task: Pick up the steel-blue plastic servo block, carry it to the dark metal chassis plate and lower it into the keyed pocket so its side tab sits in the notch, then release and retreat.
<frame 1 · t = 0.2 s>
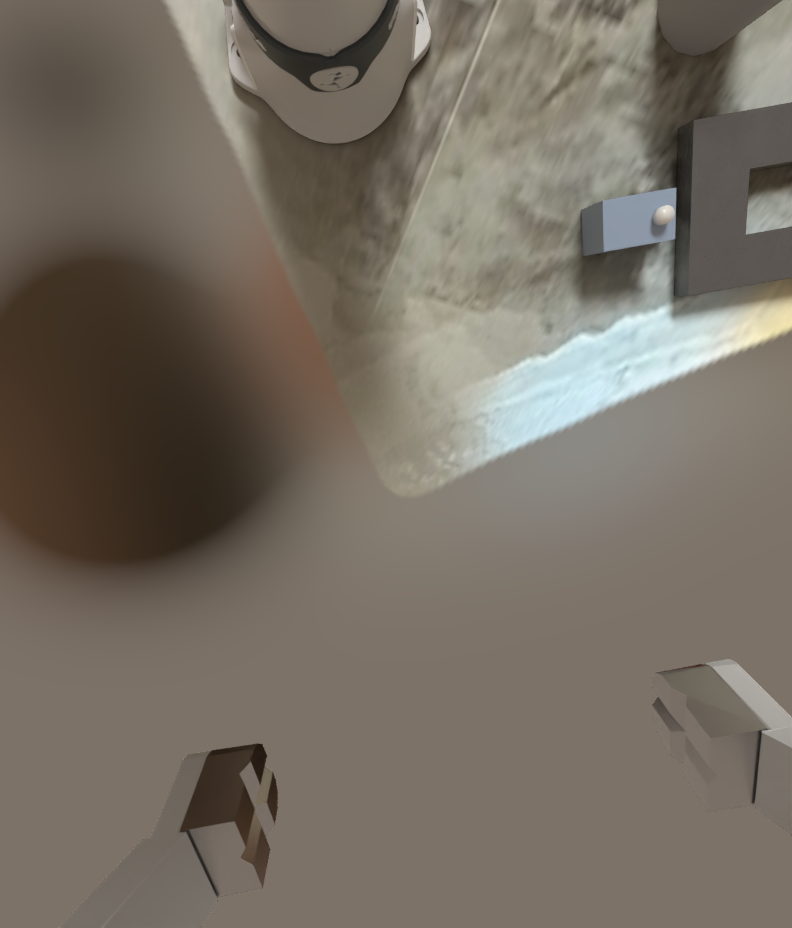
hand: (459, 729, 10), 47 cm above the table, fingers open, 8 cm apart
cup: (700, 2, 45), on the table
servo block: (614, 227, 51), on the table
chassis: (770, 199, 51), on the table
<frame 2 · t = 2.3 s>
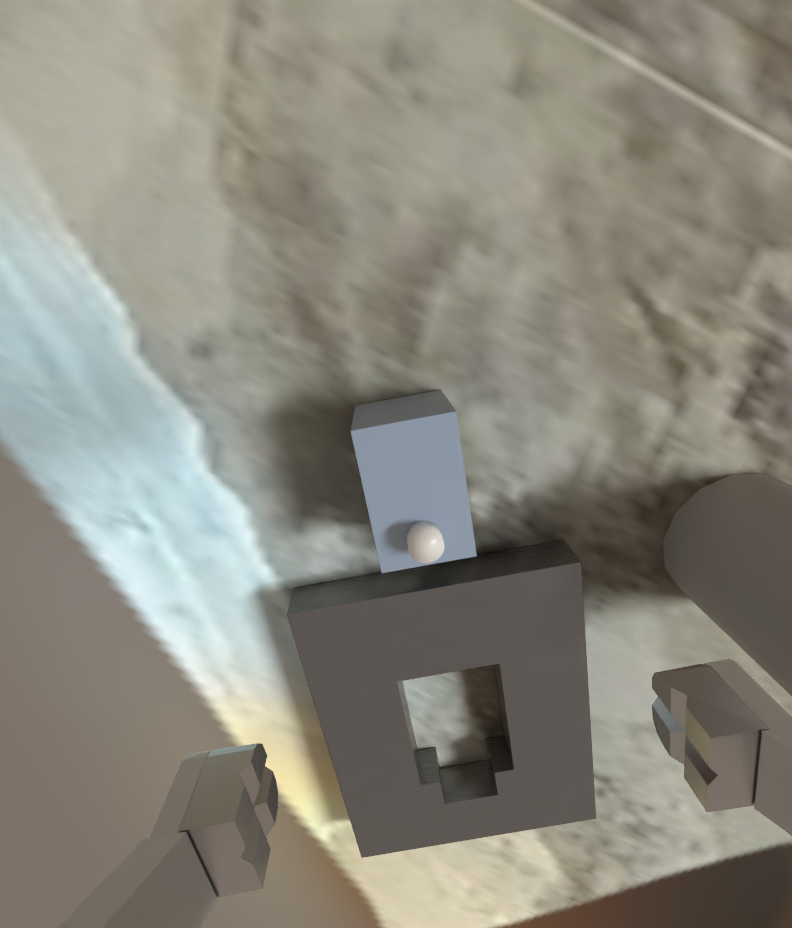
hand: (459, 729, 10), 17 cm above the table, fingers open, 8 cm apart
cup: (730, 537, 29), on the table
servo block: (409, 460, 26), on the table
chassis: (452, 695, 31), on the table
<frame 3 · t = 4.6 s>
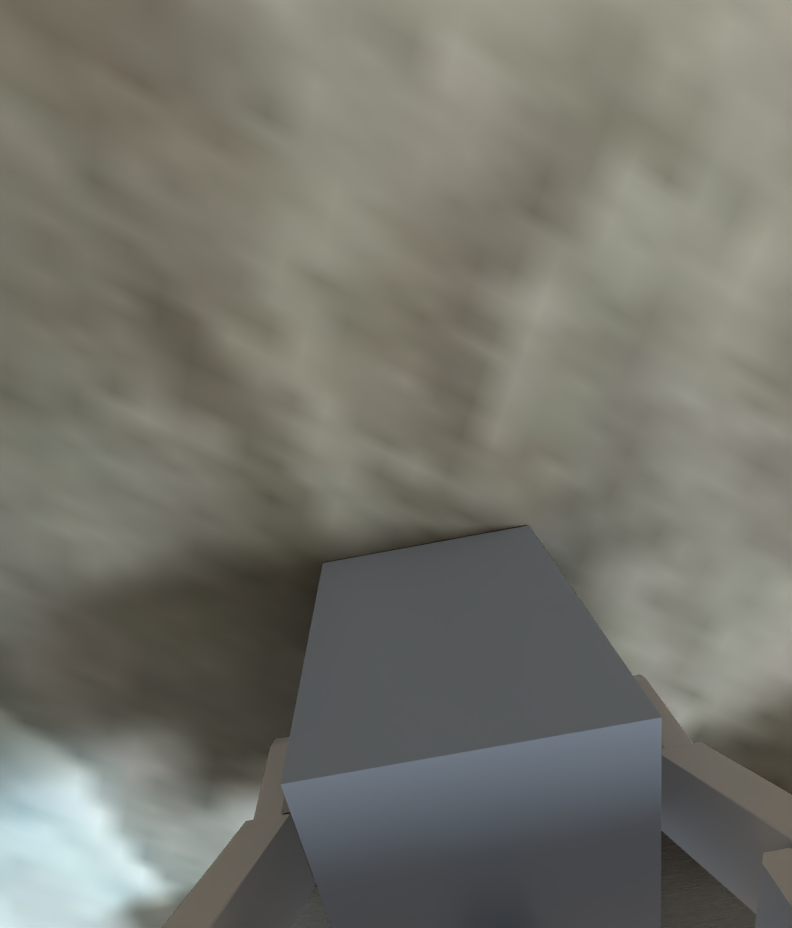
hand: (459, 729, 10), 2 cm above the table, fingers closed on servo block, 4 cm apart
servo block: (448, 672, 11), on the table, touching gripper
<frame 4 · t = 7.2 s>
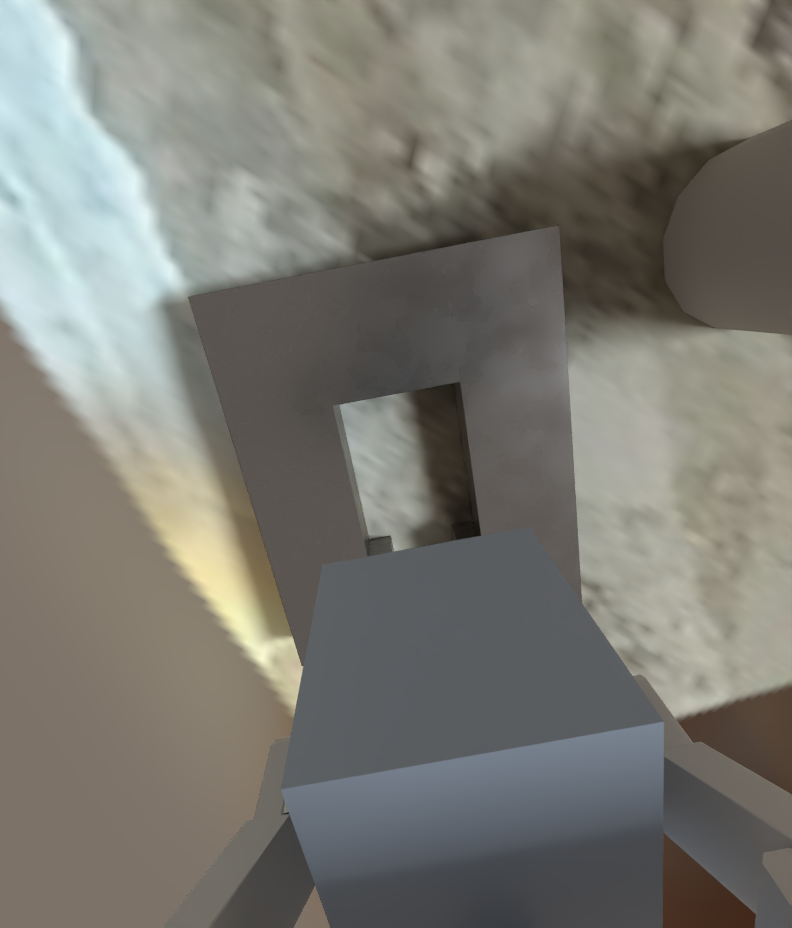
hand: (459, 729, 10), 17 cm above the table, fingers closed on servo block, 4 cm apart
cup: (745, 238, 23), on the table
servo block: (448, 674, 11), point 15 cm above the table, touching gripper
chassis: (408, 461, 26), on the table
when the fingers open (3 cm above the table, at t = 10.0 s): servo block drops 2 cm, resting in chassis.
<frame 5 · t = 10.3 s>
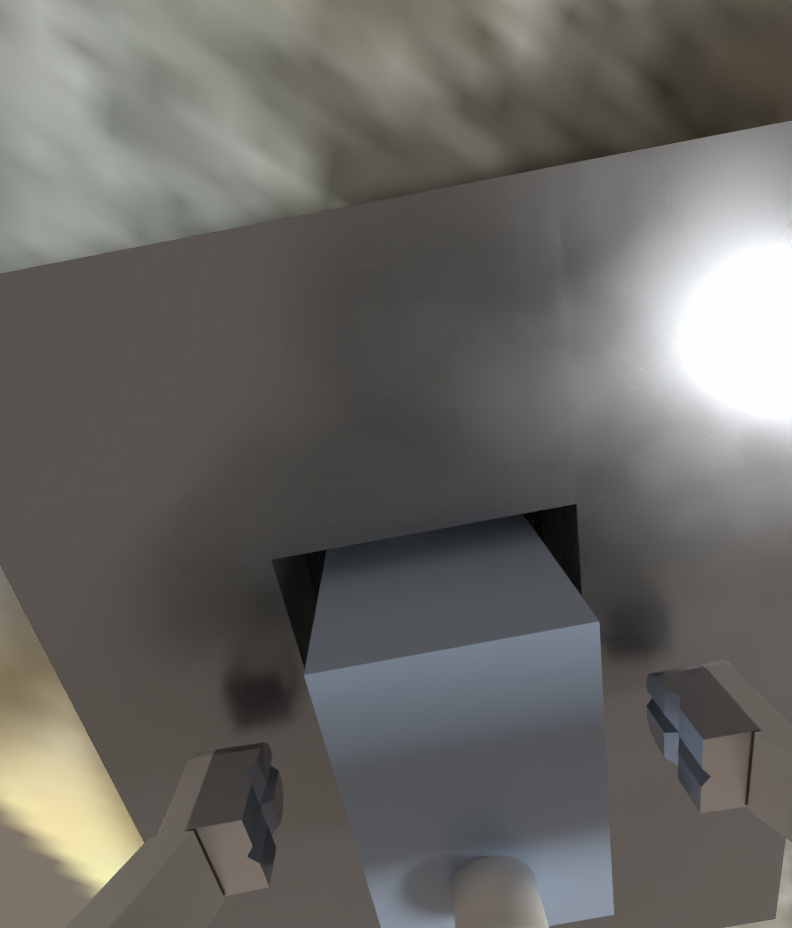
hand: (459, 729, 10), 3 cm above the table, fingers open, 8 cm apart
servo block: (440, 626, 13), resting in chassis
chassis: (438, 627, 13), on the table
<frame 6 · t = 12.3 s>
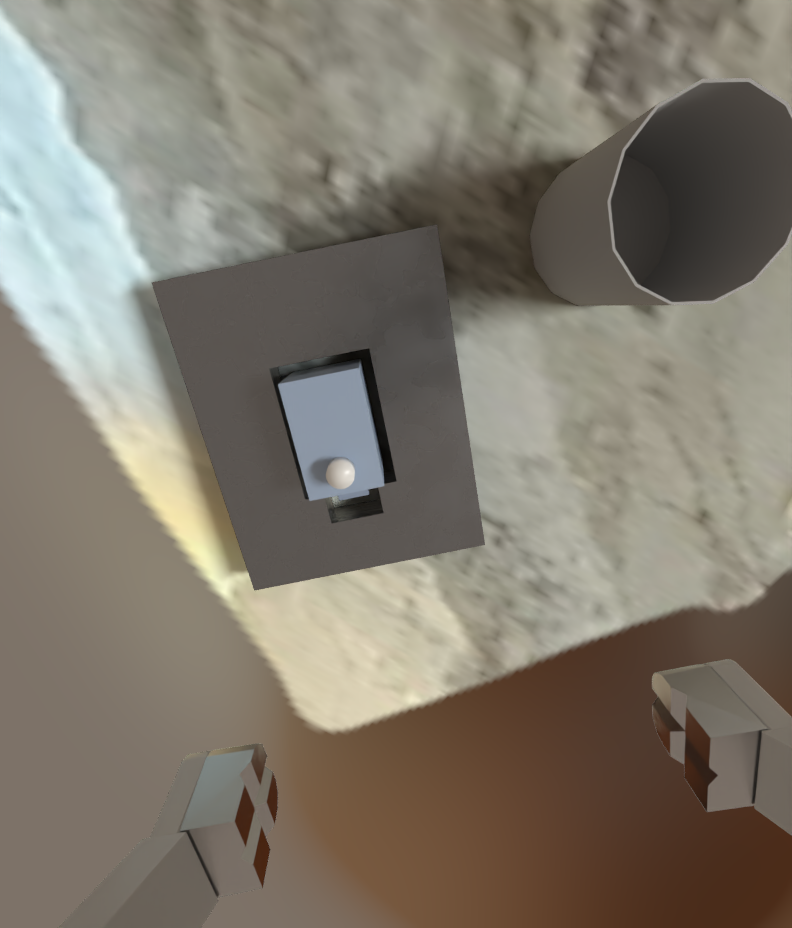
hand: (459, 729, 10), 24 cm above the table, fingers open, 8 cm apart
cup: (596, 234, 29), on the table
servo block: (338, 417, 32), resting in chassis
chassis: (338, 418, 32), on the table
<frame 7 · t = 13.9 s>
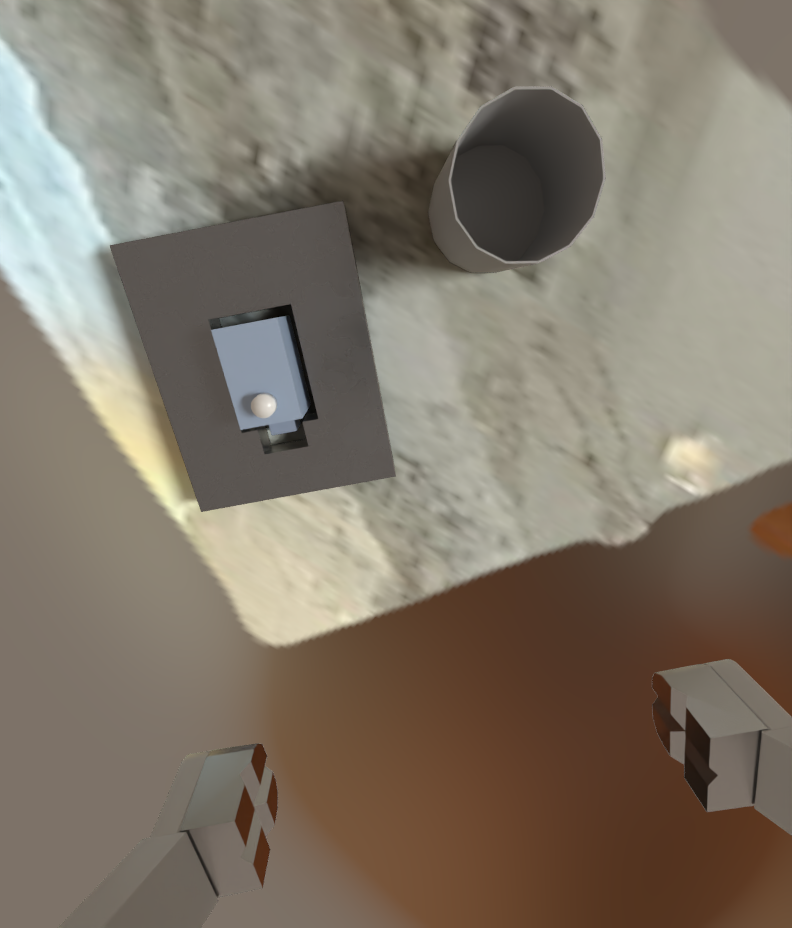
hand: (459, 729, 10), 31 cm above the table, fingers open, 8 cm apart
cup: (485, 212, 35), on the table
servo block: (272, 366, 38), resting in chassis
chassis: (272, 366, 38), on the table
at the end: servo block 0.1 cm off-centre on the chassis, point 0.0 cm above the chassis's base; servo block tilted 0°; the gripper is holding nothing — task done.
